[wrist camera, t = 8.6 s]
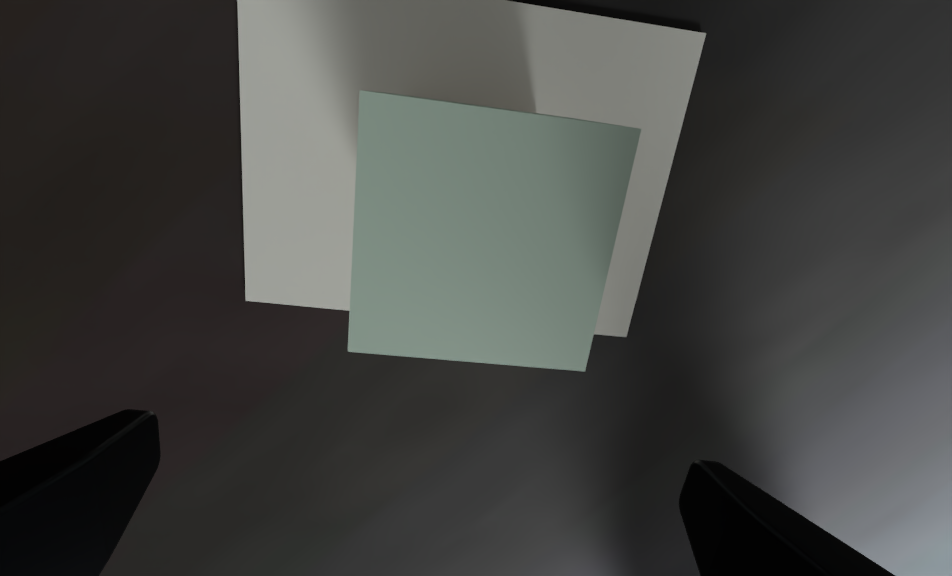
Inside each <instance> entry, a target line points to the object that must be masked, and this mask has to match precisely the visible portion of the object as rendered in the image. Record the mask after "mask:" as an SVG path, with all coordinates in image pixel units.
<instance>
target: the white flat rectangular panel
mask: <svg viewBox="0 0 952 576" xmlns="http://www.w3.org/2000/svg"><path fill="white" fill-rule="evenodd" d="M237 4H238V40H239V76H240V113H241V149H242V186H243V222H244V258H245V295H246V301H254V302H265V303H275V304H285V305H296V306H306V307H317V308H327V309H337V310H348V311H350V292H351V270H352V248H353V226H354V204H355V182H356V160H357V138H358V116H359V94H360V90H363V91H374V92H385V93H394V94H401V95H409V96H416V97H423V98H430V99H438V100H445V101H452V102H460V103H467V104H474V105H481V106H489V107H496V108H503V109H510V110H518V111H525V112H532V113H540V114H547V115H554V116H561V117H569V118H576V119H582V120H588V121H595V122H601V123H607V124H614V125H620V126H626V127H633V128H639V129H641V133H640V137H639V142H638V146H637V150H636V154H635V159H634V163H633V167H632V172H631V176H630V180H629V185H628V189H627V193H626V197H625V202H624V206H623V210H622V215H621V219H620V223H619V228H618V232H617V236H616V240H615V245H614V249H613V253H612V258H611V262H610V266H609V271H608V275H607V279H606V283H605V288H604V292H603V296H602V301H601V305H600V309H599V314H598V318H597V322H596V326H595V331H594V334H597V335H608V336H618V337H627V333H628V329H629V325H630V321H631V318H632V314H633V310H634V306H635V302H636V299H637V295H638V291H639V287H640V283H641V280H642V276H643V272H644V268H645V264H646V261H647V257H648V253H649V249H650V245H651V242H652V238H653V234H654V230H655V226H656V223H657V219H658V215H659V211H660V207H661V203H662V200H663V196H664V192H665V188H666V184H667V181H668V177H669V173H670V169H671V165H672V162H673V158H674V154H675V150H676V146H677V143H678V139H679V135H680V131H681V127H682V124H683V120H684V116H685V112H686V108H687V105H688V101H689V97H690V93H691V89H692V86H693V82H694V78H695V74H696V70H697V67H698V63H699V59H700V55H701V51H702V48H703V44H704V40H705V36H706V33H701V32H695V31H689V30H683V29H677V28H671V27H665V26H659V25H652V24H646V23H640V22H634V21H628V20H622V19H616V18H610V17H604V16H598V15H592V14H586V13H580V12H574V11H568V10H562V9H556V8H549V7H543V6H537V5H531V4H525V3H519V2H513V1H507V0H237Z"/></svg>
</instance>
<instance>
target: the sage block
mask: <svg viewBox="0 0 952 576" xmlns="http://www.w3.org/2000/svg"><path fill="white" fill-rule="evenodd" d="M640 133H641V129H639V128H633V127H626V126H620V125H614V124H607V123H601V122H595V121H588V120H582V119H576V118H569V117H561V116H554V115H547V114H540V113H532V112H525V111H518V110H510V109H503V108H496V107H489V106H481V105H474V104H467V103H460V102H452V101H445V100H438V99H430V98H423V97H416V96H409V95H401V94H394V93H385V92H374V91H363V90H360V94H359V116H358V138H357V160H356V182H355V204H354V226H353V248H352V270H351V292H350V314H349V336H348V352H359V353H371V354H383V355H395V356H407V357H419V358H430V359H442V360H454V361H466V362H478V363H490V364H502V365H514V366H526V367H538V368H550V369H562V370H573V371H585V369H586V365H587V361H588V357H589V352H590V348H591V344H592V339H593V335H594V331H595V326H596V322H597V318H598V314H599V309H600V305H601V301H602V296H603V292H604V288H605V283H606V279H607V275H608V271H609V266H610V262H611V258H612V253H613V249H614V245H615V240H616V236H617V232H618V228H619V223H620V219H621V215H622V210H623V206H624V202H625V197H626V193H627V189H628V185H629V180H630V176H631V172H632V167H633V163H634V159H635V154H636V150H637V146H638V142H639V137H640Z"/></svg>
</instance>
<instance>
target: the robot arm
mask: <svg viewBox="0 0 952 576" xmlns="http://www.w3.org/2000/svg"><path fill="white" fill-rule="evenodd" d="M159 461H160V441H159V428H158V419H157V416H156V414H155V413H153V412H152V411H143V410H132V409H127V410H123V411H121V412H118V413H116V414H113V415H111V416H108V417H106V418H104V419H101V420H99V421H96V422H94V423H92V424H89V425H87V426H84V427H82V428H79V429H77V430H75V431H72V432H70V433H67V434H65V435H63V436H60V437H58V438H55V439H53V440H50V441H48V442H46V443H43V444H41V445H38V446H36V447H34V448H31V449H29V450H26V451H24V452H22V453H19V454H17V455H14V456H12V457H9V458H7V459H5V460H2V461H0V576H99V575H100V573H101V571H102V570H103V568H104V567H105V565H106V563H107V562H108V560H109V558H110V557H111V555H112V553H113V551H114V549H115V548H116V546H117V544H118V542H119V540H120V538H121V536H122V535H123V533H124V531H125V529H126V527H127V525H128V523H129V521H130V519H131V518H132V516H133V514H134V512H135V510H136V508H137V506H138V504H139V502H140V501H141V499H142V497H143V495H144V493H145V491H146V489H147V487H148V485H149V484H150V482H151V480H152V478H153V476H154V474H155V472H156V470H157V468H158V465H159ZM679 508H680V513H681V516H682V519H683V522H684V525H685V528H686V532H687V535H688V538H689V541H690V544H691V547H692V550H693V554H694V557H695V560H696V563H697V566H698V569H699V572H700V575H701V576H895V575H893V574H892V573H890V572H889V571H887V570H886V569H884V568H882V567H881V566H879V565H878V564H876V563H875V562H873V561H872V560H870V559H868V558H867V557H865V556H864V555H862V554H861V553H859V552H858V551H856V550H854V549H853V548H851V547H850V546H848V545H847V544H845V543H844V542H842V541H841V540H839V539H837V538H836V537H834V536H833V535H831V534H830V533H828V532H827V531H825V530H823V529H822V528H820V527H819V526H817V525H816V524H814V523H813V522H811V521H809V520H808V519H806V518H805V517H803V516H802V515H800V514H799V513H797V512H795V511H794V510H792V509H791V508H789V507H788V506H786V505H785V504H783V503H782V502H780V501H778V500H777V499H775V498H774V497H772V496H771V495H769V494H768V493H766V492H764V491H763V490H761V489H760V488H758V487H757V486H755V485H754V484H752V483H750V482H749V481H747V480H746V479H744V478H743V477H741V476H740V475H738V474H736V473H735V472H733V471H732V470H730V469H729V468H727V467H726V466H724V465H722V464H721V463H719V462H715V461H704V460H697V461H694V462H693V463H692V464H691V466H690V468H689V471H688V474H687V477H686V480H685V483H684V485H683V488H682V491H681V494H680V498H679Z"/></svg>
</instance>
